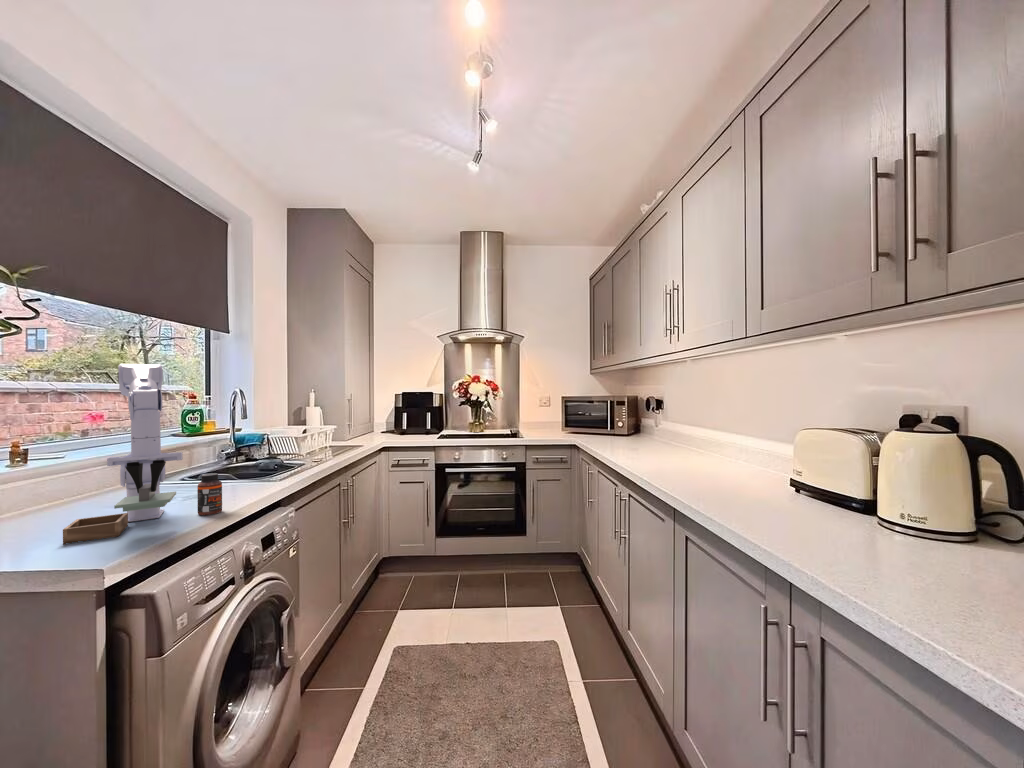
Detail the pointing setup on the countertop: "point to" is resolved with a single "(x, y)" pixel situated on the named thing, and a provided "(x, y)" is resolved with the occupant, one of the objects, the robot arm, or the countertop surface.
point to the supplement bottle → (209, 495)
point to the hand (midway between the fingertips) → (146, 491)
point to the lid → (145, 500)
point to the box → (95, 528)
